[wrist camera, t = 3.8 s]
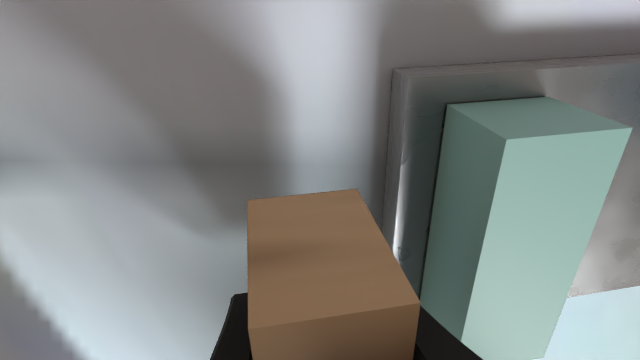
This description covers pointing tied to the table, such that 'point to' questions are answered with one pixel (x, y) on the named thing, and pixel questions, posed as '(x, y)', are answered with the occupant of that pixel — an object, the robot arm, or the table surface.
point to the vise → (507, 84)
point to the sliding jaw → (514, 218)
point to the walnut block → (325, 282)
